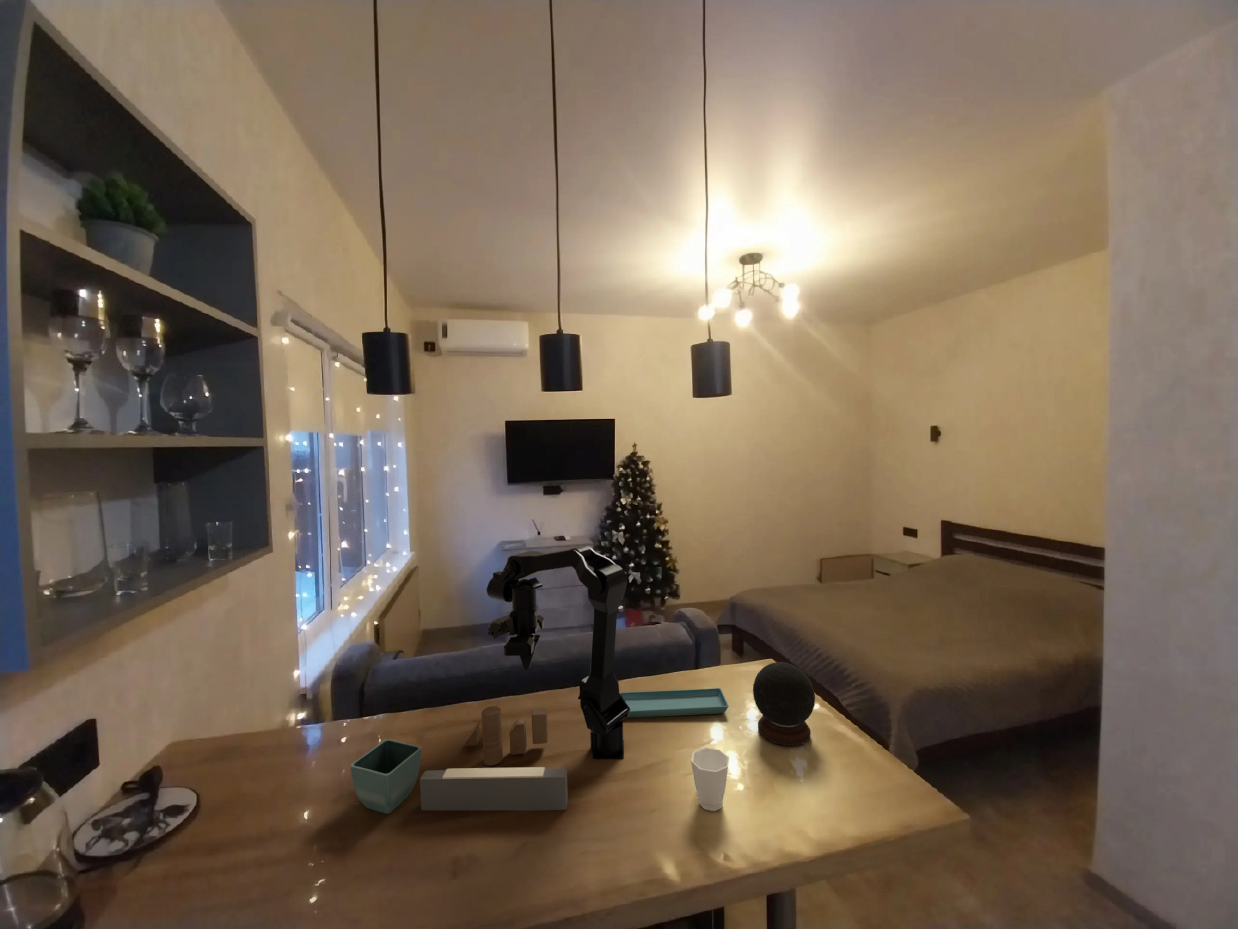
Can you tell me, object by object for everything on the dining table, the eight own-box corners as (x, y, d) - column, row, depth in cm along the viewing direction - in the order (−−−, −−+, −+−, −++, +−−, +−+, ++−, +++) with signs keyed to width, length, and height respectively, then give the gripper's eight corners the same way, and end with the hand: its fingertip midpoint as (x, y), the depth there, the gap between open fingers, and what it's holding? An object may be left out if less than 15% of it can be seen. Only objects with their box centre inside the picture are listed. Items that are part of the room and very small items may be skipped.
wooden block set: (549, 739, 111) (547, 692, 111) (546, 761, 102) (544, 710, 102) (466, 747, 109) (464, 699, 110) (456, 769, 101) (454, 717, 101)
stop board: (567, 800, 91) (566, 766, 91) (566, 810, 89) (565, 775, 89) (426, 802, 92) (425, 769, 92) (421, 812, 89) (419, 777, 89)
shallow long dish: (619, 720, 118) (619, 710, 118) (618, 700, 127) (618, 691, 127) (729, 716, 119) (729, 706, 119) (721, 697, 128) (720, 687, 128)
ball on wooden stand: (743, 733, 111) (742, 667, 110) (768, 708, 121) (767, 647, 120) (802, 756, 102) (801, 684, 102) (824, 727, 112) (823, 662, 112)
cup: (696, 818, 86) (695, 773, 86) (683, 780, 96) (682, 739, 96) (736, 815, 87) (735, 769, 87) (719, 777, 97) (718, 736, 97)
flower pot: (425, 792, 95) (423, 746, 94) (389, 826, 86) (387, 775, 86) (388, 782, 98) (386, 738, 97) (350, 814, 89) (348, 766, 89)
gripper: (500, 594, 129) (502, 653, 130) (479, 619, 110) (482, 689, 111) (543, 593, 129) (545, 652, 129) (529, 618, 110) (532, 688, 111)
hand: (526, 669), depth 120 cm, fingers closed
